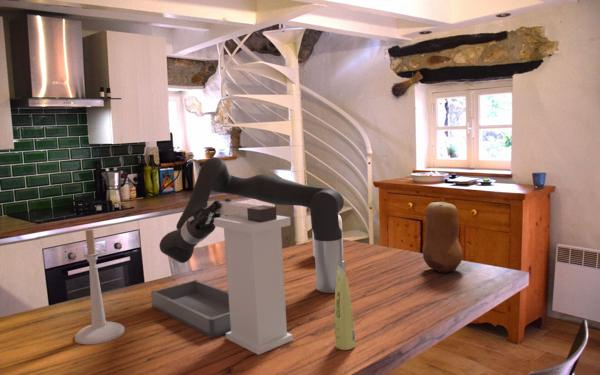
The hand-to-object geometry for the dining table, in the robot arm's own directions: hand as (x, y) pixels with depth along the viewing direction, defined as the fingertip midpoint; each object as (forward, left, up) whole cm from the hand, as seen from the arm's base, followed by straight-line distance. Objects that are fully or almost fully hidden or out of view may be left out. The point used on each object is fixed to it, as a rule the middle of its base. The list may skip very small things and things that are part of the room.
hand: (224, 202), depth 135 cm
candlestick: (+36, -7, -35) cm, 51 cm away
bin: (+8, -13, -35) cm, 38 cm away
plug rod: (-3, +6, -3) cm, 7 cm away
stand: (-6, +10, -35) cm, 37 cm away
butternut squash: (-77, -27, -35) cm, 89 cm away
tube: (-26, +21, -35) cm, 48 cm away
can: (-44, -62, -35) cm, 84 cm away
